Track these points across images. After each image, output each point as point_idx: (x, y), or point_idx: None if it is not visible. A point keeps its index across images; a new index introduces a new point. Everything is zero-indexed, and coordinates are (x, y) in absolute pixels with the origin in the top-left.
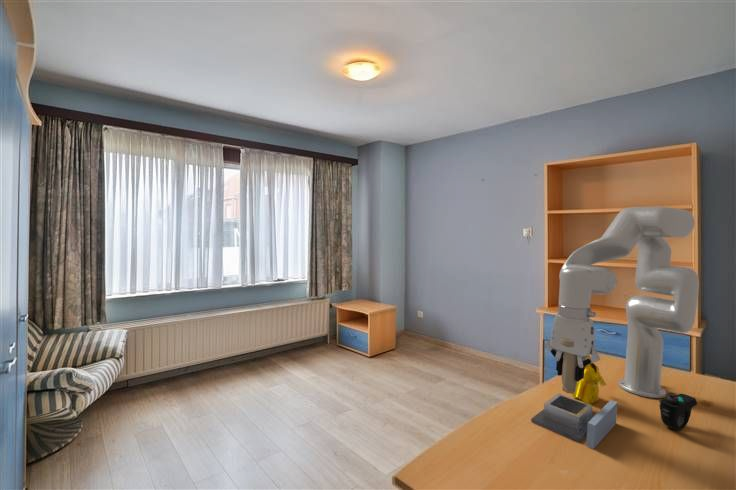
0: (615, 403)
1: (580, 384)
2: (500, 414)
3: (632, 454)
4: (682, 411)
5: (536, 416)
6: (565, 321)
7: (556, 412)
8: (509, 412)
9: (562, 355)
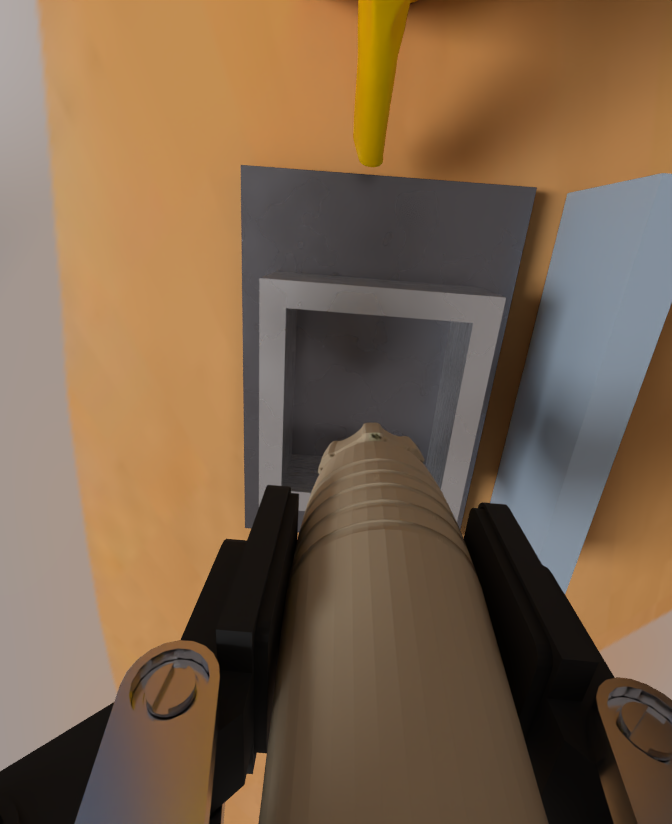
0: None
1: (382, 31)
2: (129, 547)
3: (655, 470)
4: None
5: (252, 496)
6: None
7: None
8: (142, 507)
9: (198, 774)
